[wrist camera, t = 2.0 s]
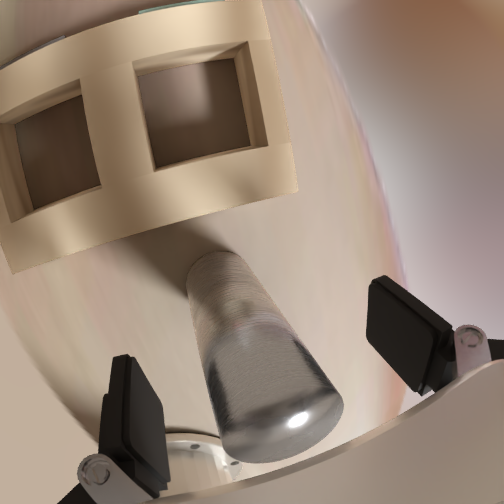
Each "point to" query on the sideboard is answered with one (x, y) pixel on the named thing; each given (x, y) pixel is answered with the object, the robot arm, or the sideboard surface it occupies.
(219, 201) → the socket block
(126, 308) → the sideboard surface
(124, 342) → the sideboard surface
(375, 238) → the sideboard surface
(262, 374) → the peg
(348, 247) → the sideboard surface
